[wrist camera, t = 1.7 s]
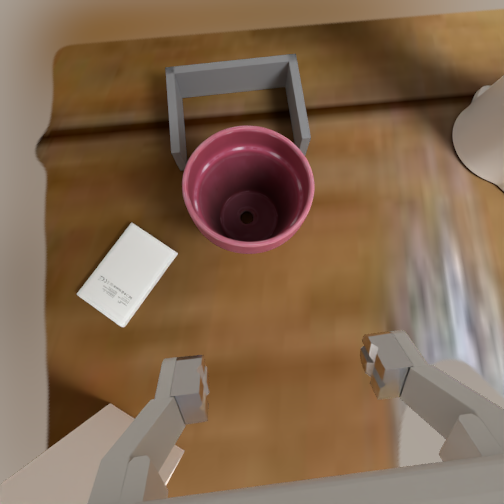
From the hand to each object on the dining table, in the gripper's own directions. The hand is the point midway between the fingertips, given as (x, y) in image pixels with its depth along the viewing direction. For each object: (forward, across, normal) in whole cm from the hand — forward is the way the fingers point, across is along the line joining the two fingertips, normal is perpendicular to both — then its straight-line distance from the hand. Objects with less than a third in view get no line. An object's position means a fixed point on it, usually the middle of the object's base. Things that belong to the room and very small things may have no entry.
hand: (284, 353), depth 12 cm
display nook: (+43, 0, -1) cm, 43 cm away
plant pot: (+32, 0, +10) cm, 34 cm away
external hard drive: (+28, +18, +15) cm, 37 cm away
